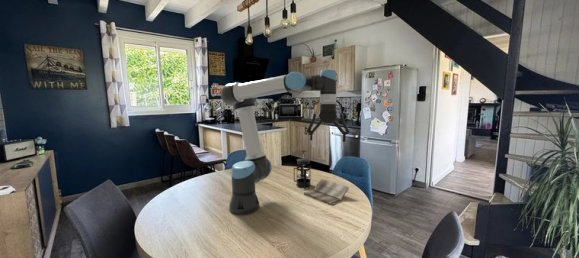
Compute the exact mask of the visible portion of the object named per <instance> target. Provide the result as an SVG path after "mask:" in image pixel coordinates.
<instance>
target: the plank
mask: <svg viewBox="0 0 579 258" xmlns="http://www.w3.org/2000/svg"><path fill="white" fill-rule="evenodd" d="M313 189H314V190H317V191H320V192H323V193H325V194H328V195H331V196H334V197H336V198H339V199H340V201H339V202H341V201H342V199H343V198H344V197H345V195H346V194H347V192H348V190H349V189H350V187H349V186H346V185H342V184H340V183H337V182H335V181H334V182H333V181H329V180H327V179H324V178H321V179H320V180H319V181H318V182H317V184H316V186H315V187H314V188H313Z"/></svg>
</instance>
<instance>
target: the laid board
mask: <svg viewBox="0 0 579 258" xmlns="http://www.w3.org/2000/svg"><path fill="white" fill-rule="evenodd" d="M303 195H305V196H306V197H308V198H312V199H315V200H317V201H319V202H321V203H323V204H327V205H329V206H332V205H334V204H337V203H339V202H341V201H340V199H339V198H336V197H334V196H331V195H328V194H325V193H323V192H320V191H317V190H314V188H312V189H310V190H308V191H307V190H306V191H305V192H303Z"/></svg>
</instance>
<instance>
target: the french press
mask: <svg viewBox="0 0 579 258" xmlns="http://www.w3.org/2000/svg"><path fill="white" fill-rule="evenodd" d="M300 152H301V153H302V158H297V159H296V161H297V162H296V163H297V165H298V166H296V167H293V182H295V183H296V187H297V188H303V189H306V188H310V187H311V186H312V185H311V183H312V182H311V177H312V176H311V174H307V172H308V171H309V172H310V171H311V166H309V164H310V162H311V159H310V158H305V157H304V156H305V152H307V150H306V149H303V150H300ZM295 170H296V171H297V172H299V171H300V174H296V175H295V173H296V171H295ZM295 176H296V177H295ZM295 178H296V180H295Z"/></svg>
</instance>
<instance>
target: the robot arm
mask: <svg viewBox="0 0 579 258" xmlns="http://www.w3.org/2000/svg"><path fill="white" fill-rule="evenodd" d="M337 78H338V77H337V71H336V70H335V69H322V70H320V73H319V74H312V75H311V74H306V73H302V72H299V71H291V72H289V73H288V74H284V75H283V74H282V75H279V76H275V77H269V78H264V79H260V80H254V81H249V82H244V83H242V82H239V81H238V82H232V83H231V82H230V83H227V84H225V85H224V86H223V87H222V88H221V90H220V99H221V100H222V101H223V103H224V104H225V105H227V106H230V107H231V106H232V107H233V109H234V112H236V113H237V114H238V120H239V125H240V129H241V134H242V139H243V141H244V148H245V153H246V156H245V158H244V160H242V161H237V162H235V163H234V164H233V165H232V166H231V173H230V175H231V193H232V194H231V197H230V201H229V206H228V208H229V209H228V210H229V212H230V213H231V214H235V215H248V214H249V215H250V214H252V213H255V212H257V211H258V210H259V209H260V201H259V198H258V195H257V193H256V184H257V183H259V182H260V181H263V180H265V179H267V177H269V175H270V174H271V173H272V166H273V165H272V163H271V161H270V159H268V158H267V156H266V153H264V152H263V149H262V146H261V141H260V135H259V131H258V125H257V120H256V116H255V111H254V110H255V108H256V102H257V99H258V98H259V97H265V96H271V95H278V94H282V93H288V92H289V93H290V92H296V91H298V92H304V93H305V92H319V91H320V92H319V95H320V96H319V102H320V105H319V113H313V115H312V119H311V121H310V123H309V125H308V128H307V129H306V133H307V134H310V135H309V137H310V141H311V145H312V146H311V148H315V147H316V133H315V132H316V131H317V130H318V128H319V127H320V126H321V125H322V124H323V123H324V124H333V125H335V127H336V128H337V129H338V130H339V132H340V133H341V135H340V136H341V137H340V150H343V149H344V143H345V142H346V138H347V137H346V135H349V134H350V133H351V132H350V129H349V127H348V125H347V123H346V120H345V119H344V114H343V113H339V114H337V104H336V103H337V85H338V84H337V82H338V79H337ZM318 118H319V121H318V122H317V124H316V125H315V126H314V124H315V122H316V121H317V119H318ZM337 118H338V119H340V122H341V124H342V126H343V127H341V125H340V124H339V123H338V122H337V120H336V119H337ZM313 126H314V127H313ZM343 128H344V129H343ZM311 129H312V130H311Z"/></svg>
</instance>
